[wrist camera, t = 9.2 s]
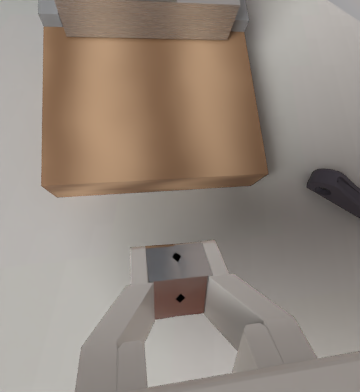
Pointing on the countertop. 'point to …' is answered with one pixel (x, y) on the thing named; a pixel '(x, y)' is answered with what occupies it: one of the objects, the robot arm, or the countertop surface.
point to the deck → (147, 115)
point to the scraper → (148, 18)
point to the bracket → (336, 189)
